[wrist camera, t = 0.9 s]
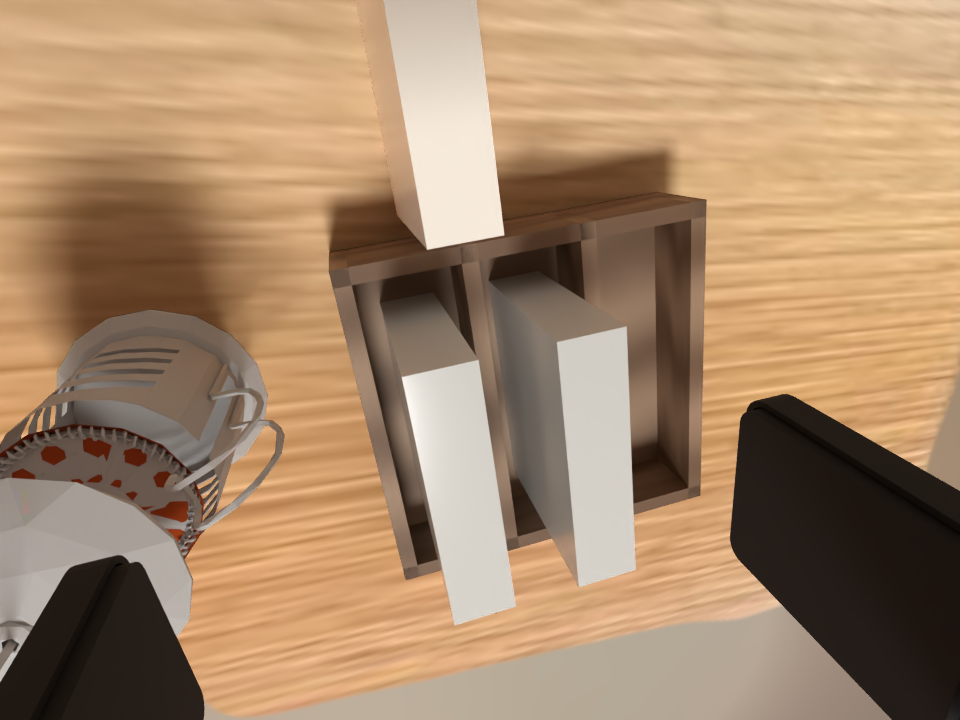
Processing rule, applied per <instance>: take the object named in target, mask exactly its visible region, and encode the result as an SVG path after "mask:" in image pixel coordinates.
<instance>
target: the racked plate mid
mask: <svg viewBox="0 0 960 720" xmlns="http://www.w3.org/2000/svg"><path fill="white" fill-rule="evenodd" d="M488 282H489V289H490V297H491V304H492V312H493V319H494V326H495V334H496V341H497V348H498V356H499V363H500V371H501V378H502V385H503V393H504V400H505V407H506V415H507V422H508V430H509V437H510V444H511V452H512V459H513V466H514V471H515V473H516V474H517V476H518V478H519V480H520V482H521V483H522V485H523V487H524V489H525V491H526V492H527V494H528V496H529V498H530V500H531V501H532V503H533V505H534V507H535V509H536V511H537V512H538V514H539V516H540V518H541V520H542V521H543V523H544V525H545V527H546V529H547V530H548V532H549V534H550V536H551V538H552V539H553V541H554V543H555V545H556V547H557V548H558V550H559V552H560V554H561V556H562V557H563V559H564V561H565V563H566V565H567V566H568V568H569V570H570V572H571V574H572V575H573V577H574V579H575V581H576V583H577V585H578V586H579V587H581V586H584V585H588V584H591V583H594V582H597V581H601V580H604V579H607V578H611V577H614V576H617V575H620V574H624V573H627V572H630V571H633V570H636V567H635V539H634V512H633V485H632V458H631V430H630V403H629V376H628V349H627V326H625V325H624V324H622V323H620V322H619V321H617V320H616V319H614V318H612V317H611V316H609V315H608V314H606V313H604V312H603V311H601V310H600V309H598V308H596V307H595V306H593V305H592V304H590V303H588V302H587V301H585V300H584V299H582V298H581V297H579V296H577V295H576V294H574V293H573V292H571V291H569V290H568V289H566V288H565V287H563V286H561V285H560V284H558V283H557V282H555V281H553V280H552V279H550V278H549V277H547V276H545V275H544V274H542V273H541V272H539V271H536V272H531V273H526V274H521V275H516V276H511V277H506V278H501V279H496V280H491V281H488Z"/></svg>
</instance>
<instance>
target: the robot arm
mask: <svg viewBox="0 0 960 720" xmlns="http://www.w3.org/2000/svg"><path fill="white" fill-rule="evenodd" d="M730 542H731V546H732V549H733V551H734V553H735V555H736V557H737V558H738V559H739V560H740V562H741V563H742V564H743V565H744V566H745V567H746V568H747V569H748V570H749V571H750V572H751V573H752V574H753V575H754V576H755V577H756V578H757V579H758V580H759V581H760V582H761V584H762V585H763V586H764V587H765V588H766V589H767V590H768V591H769V592H770V593H771V594H772V595H773V596H774V597H775V598H776V599H777V600H778V601H779V602H780V603H781V604H782V605H783V606H784V608H785V609H786V610H787V611H788V612H789V613H790V614H791V615H792V616H793V617H794V618H795V619H796V620H797V621H798V622H799V623H800V624H801V625H802V626H803V627H804V628H805V629H806V630H807V632H809V633H810V635H811V636H812V637H813V638H814V639H815V640H816V641H817V642H818V643H819V644H820V645H821V646H822V647H823V648H824V649H825V650H826V651H827V652H828V653H829V654H830V656H832V658H833V659H834V660H835V661H836V662H837V663H838V664H839V665H840V666H841V667H842V668H843V669H844V670H845V671H846V672H847V673H848V674H849V675H850V676H851V677H852V678H853V679H854V680H855V682H856V683H857V684H858V685H859V686H860V687H861V688H862V689H863V690H864V691H865V692H866V693H867V694H868V695H869V696H870V697H871V698H872V699H873V700H874V701H875V702H876V703H877V705H879V707H880V708H882V710H883V711H884V712H885V713H886V714H887V715H888V716H889V717H890V718H891V719H892V720H960V491H959V490H957V489H955V488H954V487H952V486H950V485H948V484H947V483H945V482H943V481H941V480H939V479H938V478H936V477H934V476H932V475H931V474H929V473H927V472H925V471H924V470H922V469H920V468H918V467H917V466H915V465H913V464H911V463H910V462H908V461H906V460H904V459H903V458H901V457H899V456H897V455H896V454H894V453H892V452H890V451H889V450H887V449H885V448H883V447H882V446H880V445H878V444H876V443H875V442H873V441H871V440H869V439H868V438H866V437H864V436H862V435H860V434H859V433H857V432H855V431H853V430H852V429H850V428H848V427H846V426H845V425H843V424H841V423H839V422H838V421H836V420H834V419H832V418H831V417H829V416H827V415H825V414H824V413H822V412H820V411H818V410H817V409H815V408H813V407H811V406H810V405H808V404H806V403H804V402H803V401H801V400H799V399H797V398H796V397H794V396H791V395H788V394H782V395H778V396H773V397H769V398H765V399H761V400H757V401H754V402H752V403H750V405H749V406H748V408H747V412H746V413H744V414H743V415H742V417H741V420H740V429H739V441H738V452H737V464H736V475H735V487H734V499H733V510H732V522H731V533H730ZM203 719H204V699H203V694H202V691H201V689H200V686H199V684H198V682H197V680H196V678H195V676H194V674H193V671H192V669H191V667H190V665H189V663H188V661H187V658H186V656H185V654H184V652H183V650H182V648H181V646H180V643H179V641H178V639H177V637H176V635H175V633H174V630H173V628H172V626H171V624H170V622H169V620H168V617H167V615H166V613H165V611H164V609H163V607H162V605H161V602H160V600H159V598H158V596H157V594H156V592H155V589H154V587H153V585H152V583H151V581H150V579H149V577H148V574H147V572H146V570H145V568H144V567H143V565H142V564H141V563H140V562H132V563H129V561H128V560H127V559H126V558H125V557H124V556H122V555H115V556H111V557H107V558H103V559H99V560H95V561H91V562H86V563H82V564H78V565H75V566H73V567H71V568H69V569H68V570H67V572H66V573H65V574H64V576H63V577H62V579H61V581H60V583H59V584H58V586H57V588H56V589H55V591H54V593H53V594H52V596H51V598H50V599H49V601H48V603H47V604H46V606H45V608H44V609H43V611H42V613H41V614H40V616H39V618H38V619H37V621H36V623H35V625H34V626H33V628H32V630H31V631H30V633H29V635H28V636H27V638H26V640H25V641H24V643H23V645H22V646H21V648H20V650H19V651H18V653H17V655H16V656H15V658H14V660H13V662H12V663H11V665H10V667H9V668H8V670H7V672H6V673H5V675H4V677H3V678H2V680H1V682H0V720H203Z"/></svg>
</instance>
